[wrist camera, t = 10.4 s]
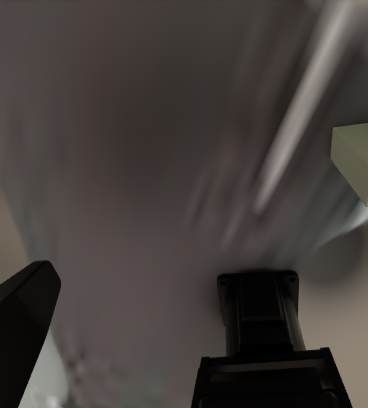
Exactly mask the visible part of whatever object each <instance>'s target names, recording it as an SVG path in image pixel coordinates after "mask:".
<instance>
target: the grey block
mask: <svg viewBox="0 0 368 408" xmlns="http://www.w3.org/2000/svg"><path fill="white" fill-rule="evenodd" d="M330 159H331V160H332V162H333V163H334V164H335V166H336V167H337V168H338V170H339V171H340V172H341V174H342V175H343V176H344V178H345V179H346V180H347V182H348V183H349V184H350V186H351V187H352V188H353V190H354V191H355V192H356V194H357V195H358V196H359V198H360V199H361V200H362V202H363V203H364V204H365V206H366V207H368V123H363V124H355V125H348V126H340V127H333V132H332V144H331V155H330Z"/></svg>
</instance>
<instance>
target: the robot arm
mask: <svg viewBox="0 0 368 408" xmlns="http://www.w3.org/2000/svg"><path fill="white" fill-rule="evenodd" d="M292 277H293V278H292ZM222 281H224V282H222ZM217 287H218V293H219V299H220V305H221V311H222V317H223V322H224V326H225V327H226V357H214V358H210V357H202V358H201V363H200V368H199V369H198V373H197V379H196V384H195V389H194V394H193V399H192V405H191V408H352V405H351V402H350V399H349V397H348V394H347V392H346V389H345V387H344V384H343V382H342V379H341V377H340V374H339V372H338V369H337V366H336V364H335V361H334V359H333V356H332V354H331V351H330V349H329V347H324V348H320V349H318V350H306V349H305V345H304V341H303V337H302V333H301V329H300V325H299V321H298V295H299V294H298V293H299V277H298V274H297V273H296V272H275V273H256V274H237V275H221V276H219V277H218V278H217ZM60 289H61V280H60V278H59V276H58V274H57V272H56V271H55V269H54V267H53V265H52V264H51V262H49V261H47V260H42V261H35V262H33V263H31V264H30V265H28V266H27V267H25V268H24V269H22V270H21V271H19V272H18V273H16V274H15V275H13V276H12V277H10V278H9V279H7V280H6V281H5V282H3V283H2V284H0V408H18V407H19V404H20V401H21V399H22V396H23V394H24V392H25V389H26V387H27V384H28V382H29V379H30V377H31V374H32V371H33V369H34V366H35V364H36V362H37V359H38V356H39V354H40V351H41V349H42V346H43V344H44V341H45V339H46V336H47V333H48V330H49V326H50V323H51V319H52V316H53V313H54V309H55V306H56V302H57V299H58V295H59V292H60Z"/></svg>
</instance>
